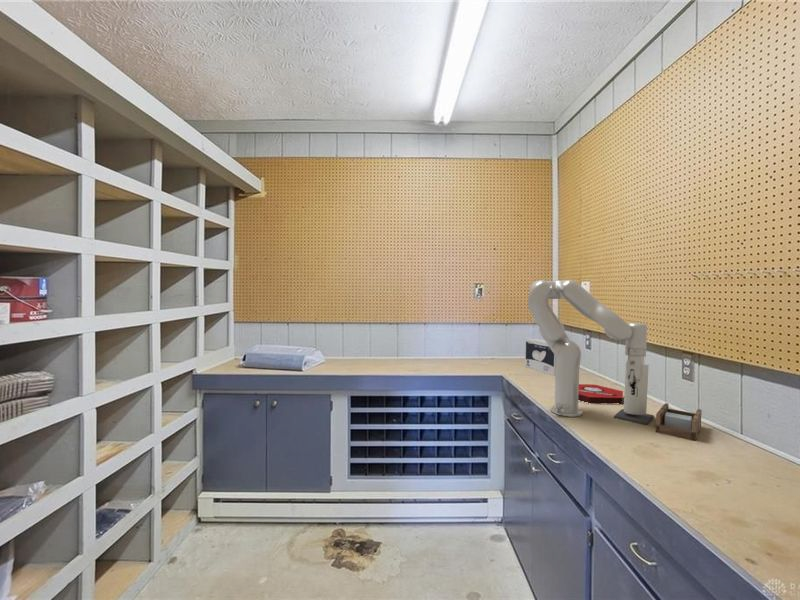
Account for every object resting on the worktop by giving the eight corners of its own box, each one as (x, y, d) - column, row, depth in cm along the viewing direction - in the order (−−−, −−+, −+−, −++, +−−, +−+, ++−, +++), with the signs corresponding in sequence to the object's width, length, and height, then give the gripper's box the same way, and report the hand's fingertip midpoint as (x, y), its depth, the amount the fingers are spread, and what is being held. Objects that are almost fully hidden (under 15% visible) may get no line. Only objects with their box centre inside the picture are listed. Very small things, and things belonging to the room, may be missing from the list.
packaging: (524, 366, 272) (525, 338, 271) (531, 366, 274) (532, 338, 273) (554, 375, 243) (555, 344, 243) (562, 375, 245) (563, 344, 244)
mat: (647, 425, 154) (647, 423, 154) (613, 417, 162) (613, 416, 162) (653, 417, 164) (653, 415, 164) (622, 410, 172) (622, 408, 172)
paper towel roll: (620, 411, 165) (622, 361, 164) (630, 410, 167) (632, 361, 167) (635, 416, 158) (638, 364, 158) (646, 415, 161) (648, 364, 160)
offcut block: (690, 436, 143) (691, 420, 142) (664, 431, 148) (665, 415, 147) (691, 432, 147) (691, 416, 147) (665, 427, 152) (666, 412, 152)
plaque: (622, 409, 176) (622, 394, 202) (622, 401, 176) (622, 388, 202) (559, 400, 189) (567, 387, 215) (559, 392, 189) (567, 381, 215)
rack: (695, 440, 138) (696, 421, 138) (655, 432, 146) (656, 413, 146) (700, 427, 153) (701, 409, 152) (664, 419, 161) (665, 403, 160)
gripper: (641, 355, 154) (640, 401, 154) (649, 351, 166) (648, 393, 166) (620, 353, 159) (619, 397, 159) (630, 349, 171) (628, 390, 171)
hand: (634, 394), depth 163 cm, fingers closed on paper towel roll, 3 cm apart
